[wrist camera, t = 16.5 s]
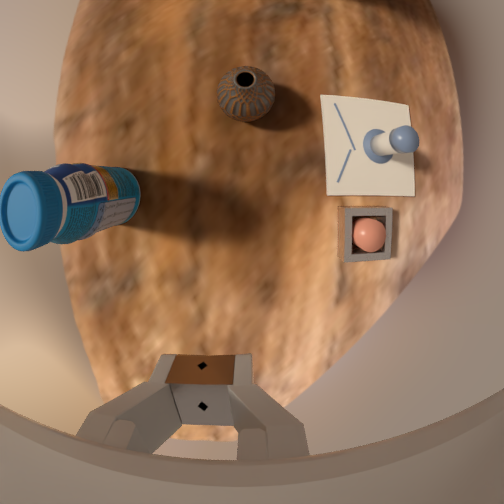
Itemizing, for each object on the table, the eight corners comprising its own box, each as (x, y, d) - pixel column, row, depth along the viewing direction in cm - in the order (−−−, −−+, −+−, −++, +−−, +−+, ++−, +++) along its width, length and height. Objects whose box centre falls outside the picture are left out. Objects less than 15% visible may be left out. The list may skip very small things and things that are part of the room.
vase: (268, 77, 32) (273, 49, 23) (276, 122, 33) (284, 104, 25) (217, 84, 32) (207, 57, 23) (223, 130, 34) (215, 113, 25)
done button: (348, 216, 36) (357, 220, 32) (375, 216, 36) (386, 219, 32) (348, 247, 37) (356, 253, 33) (374, 245, 37) (385, 251, 33)
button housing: (337, 206, 36) (344, 208, 33) (382, 205, 36) (392, 207, 33) (337, 256, 38) (344, 262, 35) (381, 253, 38) (390, 259, 35)
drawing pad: (320, 95, 32) (321, 94, 32) (406, 105, 32) (408, 105, 32) (326, 195, 36) (327, 195, 35) (413, 196, 36) (414, 196, 35)
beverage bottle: (136, 231, 37) (47, 275, 17) (89, 217, 36) (-9, 248, 17) (149, 172, 35) (57, 167, 15) (99, 162, 34) (-2, 157, 15)
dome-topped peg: (368, 133, 33) (395, 123, 25) (388, 135, 33) (417, 127, 25) (369, 155, 34) (397, 151, 26) (389, 157, 34) (420, 153, 26)
